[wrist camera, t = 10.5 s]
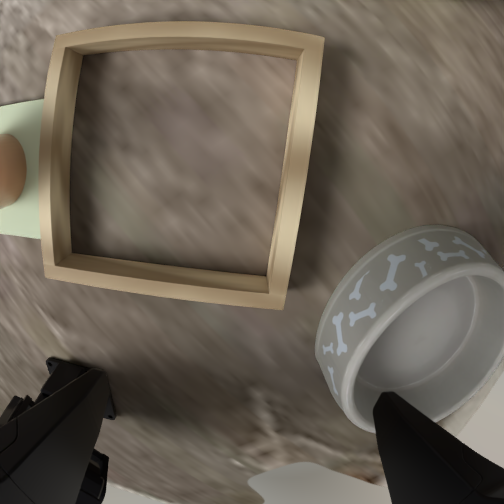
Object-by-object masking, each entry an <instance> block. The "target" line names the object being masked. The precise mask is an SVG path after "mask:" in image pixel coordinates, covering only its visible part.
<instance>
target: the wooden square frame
mask: <svg viewBox="0 0 504 504" xmlns="http://www.w3.org/2000/svg"><path fill="white" fill-rule="evenodd" d="M324 39H325V37H321V36H316V35H311V34H306V33H301V32H296V31H290V30H284V29H278V28H271V27H264V26H256V25H246V24H236V23H222V22H198V21H171V22H147V23H134V24H123V25H114V26H106V27H99V28H93V29H87V30H81V31H76V32H71V33H66V34H61V35H57V36H56V38H55V43H54V47H53V51H52V56H51V61H50V66H49V71H48V76H47V82H46V88H45V95H44V103H43V111H42V120H41V131H40V145H39V172H38V193H39V220H40V235H41V246H42V256H43V264H44V272H45V278H50V279H56V280H61V281H66V282H72V283H77V284H83V285H89V286H95V287H101V288H107V289H113V290H119V291H126V292H132V293H139V294H146V295H153V296H160V297H168V298H175V299H183V300H191V301H199V302H208V303H217V304H226V305H235V306H245V307H255V308H266V309H277V310H283V308H284V303H285V298H286V293H287V287H288V282H289V277H290V272H291V266H292V261H293V255H294V250H295V244H296V238H297V233H298V227H299V221H300V215H301V209H302V203H303V197H304V191H305V184H306V178H307V171H308V165H309V158H310V151H311V144H312V137H313V130H314V123H315V115H316V108H317V100H318V92H319V84H320V75H321V67H322V58H323V48H324ZM154 49H192V50H214V51H228V52H239V53H249V54H257V55H265V56H272V57H279V58H285V59H291V60H297V65H296V73H295V81H294V88H293V96H292V104H291V111H290V119H289V126H288V133H287V141H286V148H285V155H284V162H283V169H282V176H281V183H280V190H279V197H278V203H277V210H276V217H275V224H274V230H273V237H272V243H271V250H270V256H269V263H268V269H267V275H266V276H257V275H248V274H238V273H229V272H220V271H211V270H202V269H194V268H185V267H177V266H168V265H160V264H152V263H144V262H136V261H128V260H121V259H113V258H106V257H98V256H91V255H83V254H76V253H72V248H71V231H70V158H71V142H72V130H73V119H74V111H75V102H76V95H77V88H78V82H79V76H80V70H81V65H82V60H83V55H90V54H98V53H107V52H118V51H132V50H154Z"/></svg>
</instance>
